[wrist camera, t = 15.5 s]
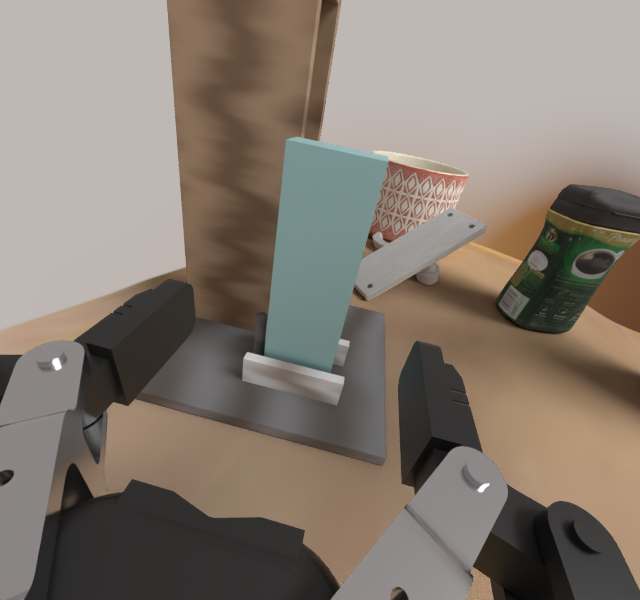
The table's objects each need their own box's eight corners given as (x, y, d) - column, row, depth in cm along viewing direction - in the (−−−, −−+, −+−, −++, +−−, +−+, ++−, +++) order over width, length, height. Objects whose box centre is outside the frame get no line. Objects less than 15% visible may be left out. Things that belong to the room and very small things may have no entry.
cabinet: (382, 320, 38) (489, 22, 22) (381, 465, 22) (730, -187, 7) (220, 280, 39) (219, -29, 24) (111, 392, 23) (-97, -309, 8)
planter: (380, 213, 78) (398, 151, 70) (451, 241, 69) (481, 173, 61) (335, 224, 65) (351, 149, 57) (416, 261, 56) (449, 177, 48)
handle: (375, 331, 46) (482, 266, 48) (365, 296, 40) (487, 224, 42) (324, 271, 58) (411, 222, 60) (311, 238, 52) (408, 185, 54)
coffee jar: (541, 307, 49) (624, 189, 39) (576, 339, 42) (686, 207, 32) (485, 298, 48) (554, 175, 38) (511, 329, 41) (603, 190, 31)
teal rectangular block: (331, 361, 29) (387, 154, 19) (325, 389, 26) (388, 161, 16) (274, 346, 29) (300, 135, 19) (262, 372, 26) (286, 139, 16)
